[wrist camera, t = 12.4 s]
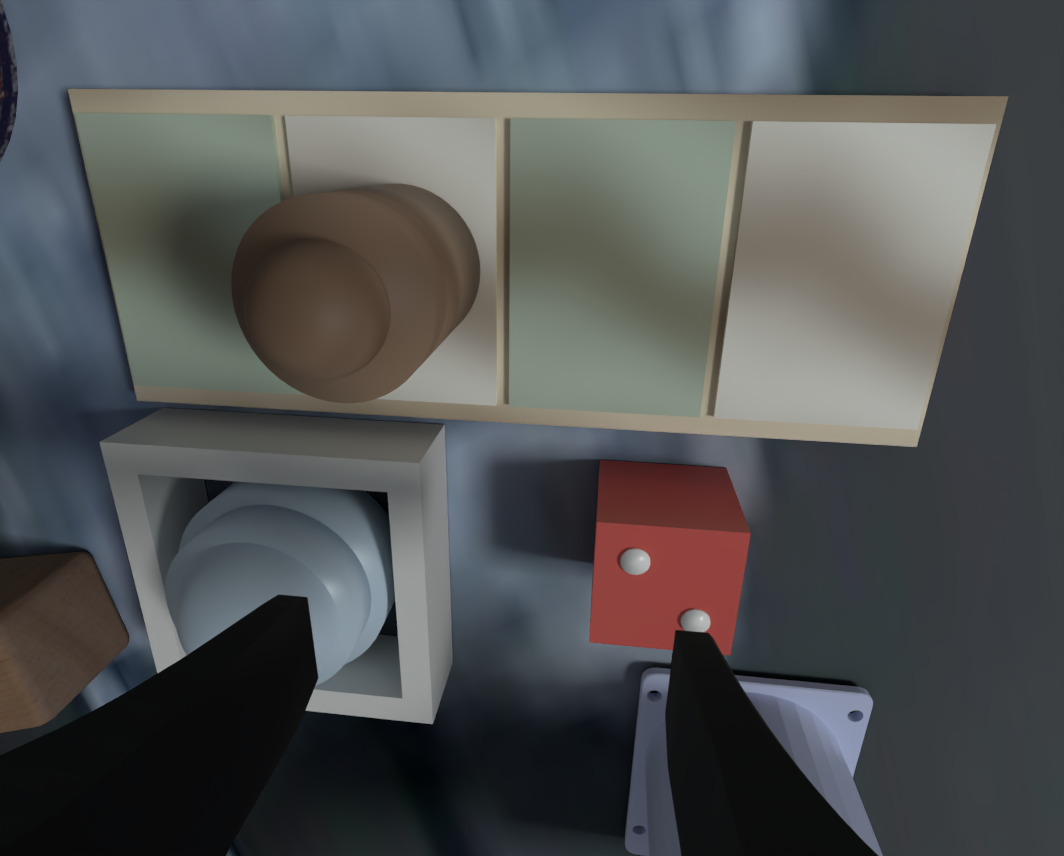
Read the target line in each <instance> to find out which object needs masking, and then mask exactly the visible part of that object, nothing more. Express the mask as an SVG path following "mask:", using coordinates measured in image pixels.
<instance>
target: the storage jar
mask: <svg viewBox="0 0 1064 856" xmlns="http://www.w3.org/2000/svg"><path fill="white" fill-rule="evenodd" d="M17 95H18V85H17V67H16V58H15V53H14V47H13V42H12V36H11V32H10V28H9V25H8V22H7V19H6V15H5V12H4V9H3V6H2V2H1V0H0V161H1V159H2V157H3V154H4V152H5V150H6V148H7V146H8V144H9V141H10V137H11V133H12V129H13V126H14V122H15V117H16V106H17Z"/></svg>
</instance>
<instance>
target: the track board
mask: <svg viewBox="0 0 1064 856" xmlns="http://www.w3.org/2000/svg"><path fill="white" fill-rule="evenodd" d="M68 93H69V97H70V102H71V106H72V111H73V115H74V120H75V124H76V129H77V133H78V138H79V142H80V147H81V151H82V156H83V160H84V165H85V169H86V174H87V178H88V183H89V187H90V192H91V196H92V201H93V205H94V209H95V214H96V218H97V223H98V227H99V232H100V236H101V241H102V245H103V250H104V254H105V259H106V263H107V268H108V272H109V277H110V281H111V286H112V290H113V295H114V299H115V304H116V308H117V313H118V317H119V322H120V326H121V331H122V335H123V340H124V344H125V349H126V353H127V358H128V362H129V367H130V371H131V376H132V380H133V385H134V389H135V394H136V398H137V401H151V402H168V403H185V404H202V405H218V406H235V407H252V408H269V409H286V410H303V411H320V412H336V413H353V414H370V415H387V416H404V417H421V418H437V419H454V420H471V421H488V422H505V423H522V424H539V425H555V426H572V427H589V428H606V429H623V430H640V431H656V432H673V433H690V434H707V435H724V436H741V437H758V438H774V439H791V440H808V441H825V442H842V443H859V444H875V445H892V446H909V447H917V444H918V440H919V436H920V432H921V428H922V425H923V421H924V417H925V413H926V409H927V406H928V402H929V398H930V394H931V390H932V386H933V383H934V379H935V375H936V371H937V367H938V363H939V360H940V356H941V352H942V348H943V344H944V340H945V337H946V333H947V329H948V325H949V321H950V318H951V314H952V310H953V306H954V302H955V298H956V295H957V291H958V287H959V283H960V279H961V275H962V272H963V268H964V264H965V260H966V256H967V253H968V249H969V245H970V241H971V237H972V233H973V230H974V226H975V222H976V218H977V214H978V210H979V207H980V203H981V199H982V195H983V191H984V187H985V184H986V180H987V176H988V172H989V168H990V165H991V161H992V157H993V153H994V149H995V145H996V142H997V138H998V134H999V130H1000V126H1001V122H1002V119H1003V115H1004V111H1005V107H1006V103H1007V100H1008V97H993V96H871V95H749V94H627V93H505V92H384V91H262V90H140V89H68ZM385 184H407V185H413V186H417V187H420V188H423V189H425V190H428V191H430V192H432V193H434V194H436V195H437V196H439V197H441V198H442V199H443V200H445V201H446V202H447V203H449V204H450V205H451V206H452V207H453V208H454V209H455V210H456V211H457V212H458V213H459V215H460V216H461V217H462V218H463V220H464V221H465V223H466V224H467V226H468V228H469V229H470V231H471V233H472V236H473V238H474V240H475V243H476V246H477V249H478V254H479V259H480V283H479V288H478V293H477V296H476V299H475V301H474V304H473V306H472V308H471V309H470V311H469V313H468V314H467V316H466V317H465V318H464V320H463V321H462V322H461V323H460V324H459V325H458V326H457V327H456V328H455V329H454V330H453V331H452V332H451V334H450V335H449V336H448V337H447V338H446V339H445V340H444V341H443V342H442V343H441V344H440V345H439V346H438V348H437V349H436V350H435V351H434V352H433V353H432V354H431V355H430V356H429V357H428V358H427V359H426V361H425V362H424V363H423V364H422V365H421V366H420V367H419V368H418V369H417V370H416V371H415V372H414V373H413V375H412V376H411V377H410V378H409V379H408V380H407V381H406V382H405V383H403V384H402V385H401V386H400V387H398V388H397V389H395V390H394V391H392V392H390V393H389V394H387V395H384V396H382V397H379V398H377V399H374V400H370V401H366V402H359V403H336V402H329V401H324V400H321V399H317V398H314V397H311V396H309V395H306V394H304V393H302V392H300V391H298V390H296V389H294V388H292V387H291V386H289V385H288V384H286V383H285V382H283V381H282V380H280V379H279V378H278V377H277V376H276V375H274V374H273V373H272V372H271V371H270V370H269V369H268V368H267V367H266V366H265V365H264V364H263V363H262V362H261V361H260V359H259V358H258V357H257V355H256V354H255V353H254V351H253V350H252V349H251V347H250V345H249V343H248V342H247V340H246V338H245V337H244V334H243V332H242V330H241V328H240V326H239V323H238V320H237V317H236V314H235V310H234V305H233V300H232V290H231V277H232V268H233V262H234V258H235V255H236V251H237V248H238V246H239V244H240V242H241V240H242V238H243V236H244V234H245V233H246V231H247V230H248V228H249V227H250V226H251V224H252V223H253V222H254V221H255V220H256V219H257V218H258V217H259V216H260V215H261V214H262V213H264V212H265V211H266V210H268V209H269V208H270V207H272V206H274V205H276V204H278V203H280V202H282V201H284V200H287V199H290V198H293V197H296V196H302V195H308V194H316V193H323V192H331V191H339V190H346V189H354V188H362V187H369V186H377V185H385Z"/></svg>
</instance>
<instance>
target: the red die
mask: <svg viewBox="0 0 1064 856" xmlns="http://www.w3.org/2000/svg"><path fill="white" fill-rule="evenodd" d="M750 534H751V533H750V530H749V528H748V525H747V522H746V520H745V517H744V514H743V512H742V509H741V506H740V503H739V501H738V498H737V495H736V493H735V490H734V487H733V485H732V482H731V479H730V477H729V474H728V471H727V469H726V468H721V467H705V466H690V465H674V464H659V463H643V462H627V461H612V460H600V464H599V480H598V496H597V512H596V528H595V544H594V560H593V579H592V599H591V618H590V638H589V642H592V643H602V644H613V645H624V646H635V647H646V648H657V649H668V650H673V645H674V637H675V630H683V631H694V632H705V633H709V634H710V635H711V636H712V637H713V638H714V640H715V642H716V644H717V646H718V647H719V649H720V651H721V653H722V655H731V649H732V643H733V637H734V631H735V625H736V619H737V613H738V607H739V600H740V594H741V588H742V582H743V576H744V570H745V564H746V558H747V552H748V546H749V540H750Z"/></svg>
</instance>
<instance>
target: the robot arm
mask: <svg viewBox="0 0 1064 856" xmlns="http://www.w3.org/2000/svg"><path fill="white" fill-rule="evenodd" d="M317 680H318V671H317V664H316V656H315V649H314V641H313V634H312V626H311V619H310V612H309V604H308V597H301V596H290V595H279V594H278V595H277V596H275V597H273V598H272V599H270V600H269V601H267V602H265V603H264V604H262V605H261V606H259V607H258V608H256V609H255V610H253V611H252V612H250V613H249V614H247V615H246V616H244V617H243V618H242V619H240V620H239V621H237V622H236V623H234V624H233V625H231V626H230V627H228V628H227V629H225V630H224V631H222V632H221V633H219V634H218V635H216V636H215V637H213V638H212V639H210V640H209V641H207V642H206V643H204V644H203V645H201V646H200V647H198V648H197V649H195V650H194V651H192V652H191V653H189V654H188V655H186V656H185V657H183V658H182V659H180V660H179V661H177V662H175V663H174V664H172V665H170V666H169V667H167V668H166V669H164V670H162V671H161V672H159V673H157V674H156V675H154V676H153V677H151V678H149V679H148V680H146V681H145V682H143V683H141V684H140V685H138V686H136V687H135V688H133V689H132V690H130V691H128V692H126V693H125V694H123V695H121V696H119V697H118V698H116V699H114V700H112V701H110V702H109V703H107V704H105V705H103V706H101V707H99V708H98V709H96V710H94V711H92V712H90V713H88V714H86V715H84V716H82V717H80V718H78V719H77V720H75V721H73V722H71V723H69V724H67V725H65V726H63V727H61V728H59V729H57V730H55V731H53V732H50V733H48V734H46V735H44V736H42V737H40V738H37V739H35V740H33V741H31V742H29V743H26V744H24V745H22V746H20V747H18V748H16V749H13V750H11V751H9V752H7V753H5V754H3V755H0V856H226V854H227V852H228V850H229V848H230V846H231V845H232V843H233V841H234V839H235V837H236V835H237V833H238V832H239V830H240V828H241V827H242V825H243V823H244V821H245V820H246V818H247V816H248V814H249V813H250V811H251V809H252V807H253V806H254V804H255V802H256V800H257V799H258V797H259V795H260V793H261V792H262V790H263V788H264V787H265V785H266V783H267V781H268V780H269V778H270V776H271V774H272V773H273V771H274V769H275V767H276V766H277V764H278V762H279V760H280V759H281V757H282V755H283V753H284V752H285V750H286V748H287V746H288V744H289V743H290V741H291V739H292V737H293V735H294V734H295V732H296V730H297V728H298V726H299V724H300V722H301V719H302V717H303V715H304V712H305V710H306V708H307V705H308V703H309V700H310V698H311V695H312V693H313V690H314V688H315V685H316V683H317ZM654 690H656V691H659V692H658V693H654V694H653V693H650V691H654ZM872 707H873V701H872V699H871V697H870V695H869V693H868V691H867V690H865V689H864V688H861V687H856V686H845V685H834V684H824V683H813V682H803V681H792V680H782V679H771V678H761V677H750V676H740V675H734V673H733V672H732V670H731V668H730V667H729V665H728V663H727V662H726V660H725V658H724V656H723V655H722V653H721V651H720V649H719V647H718V646H717V644H716V642H715V640H714V638H713V637H712V636H711V635H710V634H709V633H705V632H694V631H683V630H675V637H674V645H673V653H672V661H671V669H666V668H649V669H647V670H645V671H644V672H643V674H642V676H641V685H640V694H639V704H638V714H637V723H636V733H635V743H634V752H633V762H632V772H631V782H630V791H629V801H628V811H627V820H626V830H625V848H626V849H627V850H628V851H629V852H631V853H632V854H636V855H644V856H883V855H882V853H881V850H880V847H879V845H878V842H877V840H876V837H875V835H874V832H873V829H872V827H871V824H870V822H869V819H868V817H867V814H866V812H865V809H864V806H863V804H862V801H861V799H860V796H859V794H858V791H857V788H856V786H855V783H854V781H853V775H854V771H855V767H856V764H857V760H858V757H859V753H860V749H861V746H862V742H863V739H864V735H865V732H866V728H867V724H868V721H869V717H870V714H871V710H872ZM854 710H858V711H857V712H855V713H849V712H851V711H854Z"/></svg>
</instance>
